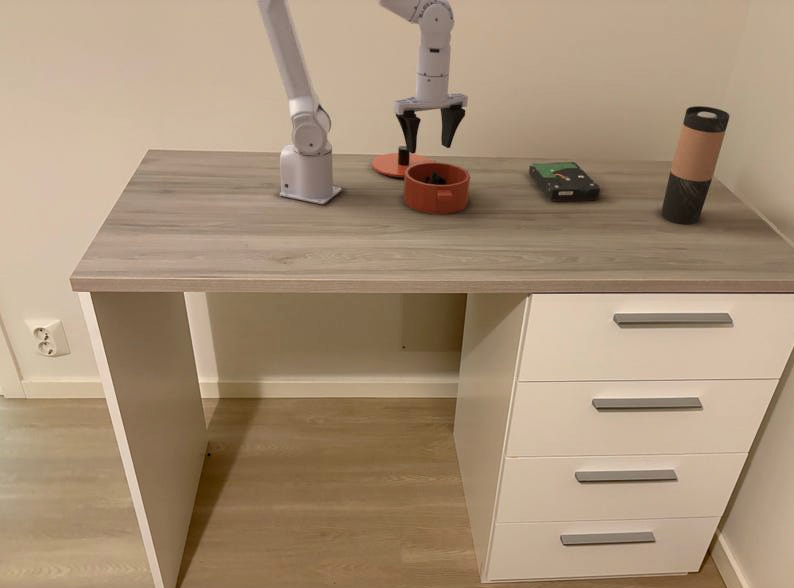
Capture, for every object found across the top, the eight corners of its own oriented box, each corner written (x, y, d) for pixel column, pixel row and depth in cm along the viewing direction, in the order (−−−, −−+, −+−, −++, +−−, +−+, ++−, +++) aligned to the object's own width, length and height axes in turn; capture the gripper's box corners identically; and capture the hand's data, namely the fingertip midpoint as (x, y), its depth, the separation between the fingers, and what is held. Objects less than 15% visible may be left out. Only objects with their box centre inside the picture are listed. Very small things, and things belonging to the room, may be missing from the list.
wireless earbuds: (421, 192, 141) (423, 167, 139) (432, 190, 143) (434, 166, 140) (439, 206, 137) (441, 180, 134) (451, 204, 138) (453, 178, 135)
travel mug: (706, 217, 140) (737, 113, 129) (688, 228, 136) (719, 121, 124) (671, 205, 145) (698, 103, 133) (652, 215, 140) (678, 110, 128)
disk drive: (599, 201, 145) (572, 173, 156) (602, 188, 143) (574, 160, 155) (550, 203, 142) (527, 174, 154) (552, 189, 141) (528, 161, 152)
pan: (411, 220, 132) (412, 192, 129) (398, 184, 146) (399, 157, 143) (476, 219, 134) (479, 191, 131) (457, 183, 148) (459, 157, 145)
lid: (375, 180, 147) (375, 159, 144) (369, 157, 157) (369, 137, 155) (439, 180, 149) (440, 158, 146) (428, 157, 159) (430, 137, 157)
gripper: (454, 64, 133) (449, 137, 141) (385, 70, 126) (384, 147, 134) (476, 73, 128) (470, 149, 136) (405, 80, 121) (403, 159, 129)
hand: (428, 149), depth 135 cm, fingers open, 7 cm apart
